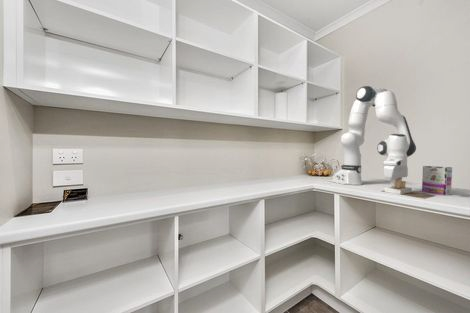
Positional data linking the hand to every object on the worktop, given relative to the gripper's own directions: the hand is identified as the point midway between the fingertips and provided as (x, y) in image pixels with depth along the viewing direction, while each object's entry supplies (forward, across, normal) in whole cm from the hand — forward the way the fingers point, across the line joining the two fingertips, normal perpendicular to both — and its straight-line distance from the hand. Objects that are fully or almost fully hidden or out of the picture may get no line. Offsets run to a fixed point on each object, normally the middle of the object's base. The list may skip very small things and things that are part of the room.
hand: (396, 185), depth 111 cm
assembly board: (+5, -3, +4) cm, 7 cm away
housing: (+4, -3, 0) cm, 5 cm away
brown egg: (+2, 0, 0) cm, 2 cm away
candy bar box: (+5, -21, +11) cm, 24 cm away
